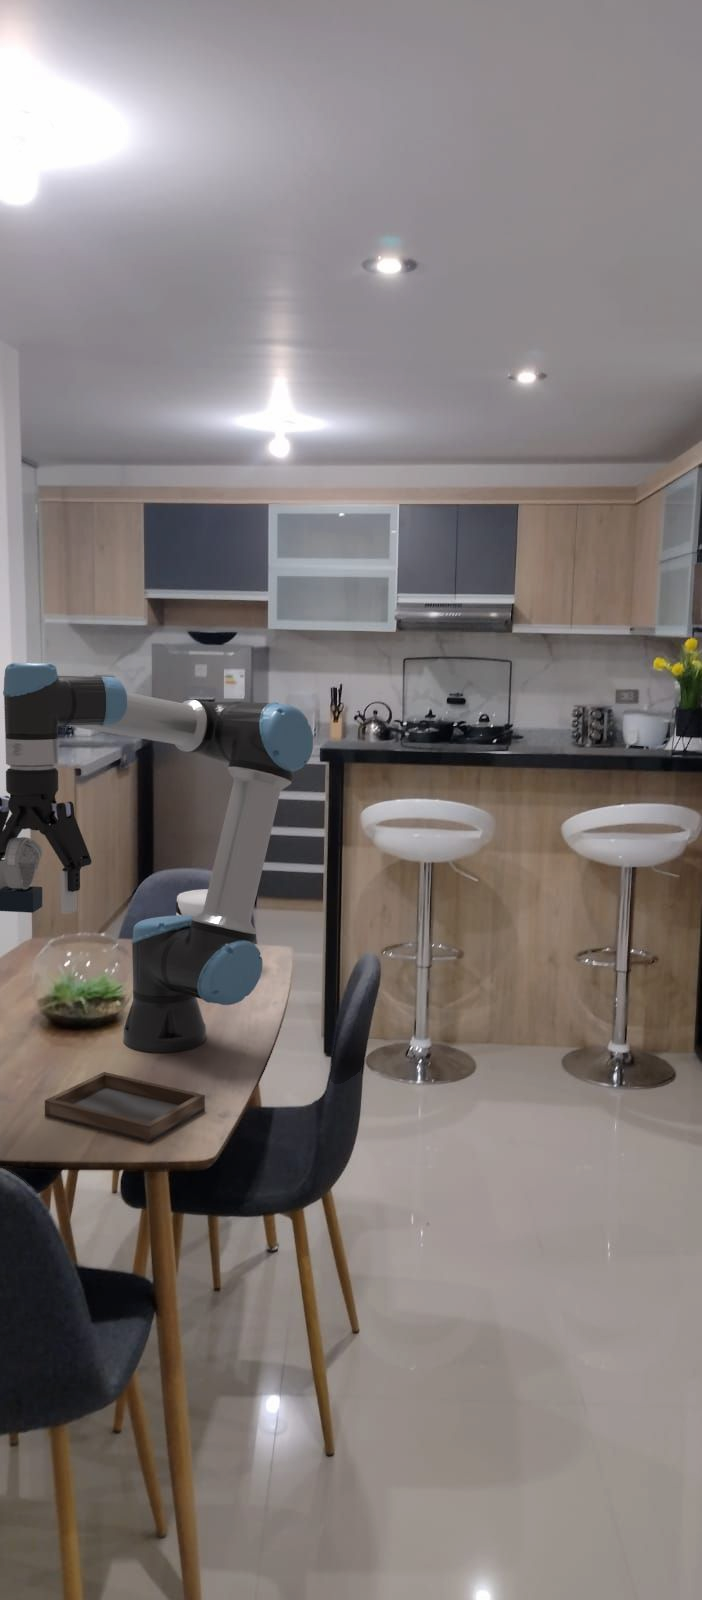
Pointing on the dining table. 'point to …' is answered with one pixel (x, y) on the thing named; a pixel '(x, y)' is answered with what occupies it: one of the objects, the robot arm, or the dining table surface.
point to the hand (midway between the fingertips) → (34, 907)
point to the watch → (21, 876)
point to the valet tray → (125, 1106)
